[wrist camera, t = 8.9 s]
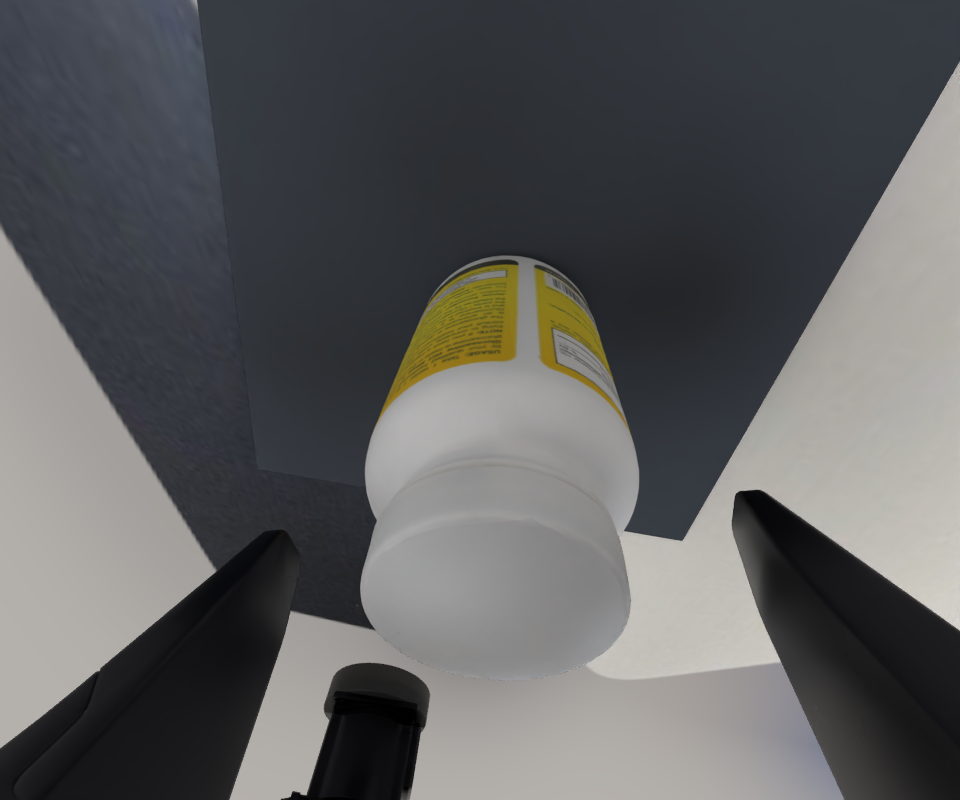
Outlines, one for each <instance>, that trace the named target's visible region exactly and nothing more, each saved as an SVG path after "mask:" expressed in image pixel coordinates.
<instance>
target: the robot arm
mask: <svg viewBox="0 0 960 800" xmlns="http://www.w3.org/2000/svg"><path fill="white" fill-rule="evenodd" d="M732 530H733V535H734V538H735V541H736V544H737V547H738V550H739V553H740V556H741V559H742V562H743V565H744V568H745V572H746V575H747V578H748V581H749V584H750V587H751V590H752V593H753V596H754V599H755V602H756V605H757V608H758V610H759V613H760V616H761V618H762V621H763V623H764V625H765V628H766V630H767V632H768V634H769V636H770V639H771V641H772V643H773V645H774V647H775V649H776V652H777V654H778V656H779V658H780V660H781V663H782V665H783V667H784V669H785V671H786V673H787V676H788V678H789V680H790V682H791V684H792V686H793V689H794V691H795V693H796V695H797V697H798V699H799V702H800V704H801V706H802V708H803V710H804V713H805V715H806V717H807V719H808V721H809V724H810V726H811V728H812V730H813V732H814V734H815V736H816V739H817V741H818V743H819V745H820V747H821V749H822V752H823V754H824V756H825V758H826V760H827V763H828V765H829V767H830V769H831V771H832V774H833V776H834V778H835V780H836V782H837V784H838V787H839V789H840V791H841V793H842V795H843V797H844V800H960V631H959V630H958V629H957V628H955V627H954V626H952V625H951V624H950V623H948V622H947V621H945V620H944V619H943V618H941V617H940V616H938V615H937V614H936V613H934V612H933V611H931V610H930V609H929V608H927V607H926V606H924V605H923V604H922V603H920V602H919V601H917V600H916V599H914V598H913V597H912V596H910V595H909V594H907V593H906V592H905V591H903V590H902V589H900V588H899V587H898V586H896V585H895V584H893V583H892V582H891V581H889V580H888V579H886V578H885V577H884V576H882V575H881V574H879V573H878V572H877V571H875V570H874V569H872V568H871V567H869V566H868V565H867V564H865V563H864V562H862V561H861V560H860V559H858V558H857V557H855V556H854V555H853V554H851V553H850V552H848V551H847V550H846V549H844V548H843V547H841V546H840V545H839V544H837V543H836V542H834V541H833V540H832V539H830V538H829V537H827V536H826V535H824V534H823V533H822V532H820V531H819V530H817V529H816V528H815V527H813V526H812V525H810V524H809V523H808V522H806V521H805V520H803V519H802V518H801V517H799V516H798V515H796V514H795V513H794V512H792V511H791V510H789V509H788V508H787V507H785V506H784V505H782V504H781V503H779V502H778V501H777V500H775V499H774V498H772V497H771V496H770V495H768V494H767V493H765V492H764V491H761V490H749V491H740V492H738V493H736V495H735V500H734V509H733V517H732ZM300 567H301V557H300V554H299V552H298V550H297V548H296V547H295V545H294V543H293V541H292V540H291V538H290V536H289V535H288V533H287V532H286V531H284V530H271V531H265V532H263V533H262V534H261V535H260V536H258V537H257V538H256V539H255V540H254V541H252V542H251V543H250V544H249V545H248V546H246V547H245V548H244V549H243V550H242V551H240V552H239V553H238V554H237V555H236V556H234V557H233V558H232V559H231V560H230V561H228V562H227V563H226V564H225V565H224V566H222V567H221V568H220V569H219V570H218V571H216V572H215V573H214V574H213V575H212V576H210V577H209V578H208V579H207V580H206V581H205V582H203V583H202V584H201V585H200V586H199V587H197V588H196V589H195V590H194V591H193V592H191V593H190V594H189V595H188V596H187V597H185V598H184V599H183V600H182V601H181V602H179V603H178V604H177V605H176V606H175V607H173V608H172V609H171V610H170V611H169V612H167V613H166V614H165V615H164V616H163V617H161V618H160V619H159V620H158V621H157V622H155V623H154V624H153V625H152V626H151V627H149V628H148V629H147V630H146V631H145V632H143V633H142V634H141V635H140V636H139V637H137V638H136V639H135V640H134V641H133V642H132V643H130V644H129V645H128V646H127V647H125V648H124V649H123V650H122V651H121V652H119V653H118V654H117V655H116V656H115V657H113V658H112V659H111V660H110V661H109V662H108V663H106V664H105V665H104V666H103V667H102V668H101V669H100V671H97V672H95V673H94V674H93V675H92V676H91V677H89V678H88V679H87V680H86V681H85V682H83V683H82V684H81V685H80V686H79V687H77V688H76V689H75V690H74V691H73V692H71V693H70V694H69V695H68V696H66V697H65V698H64V699H63V700H62V701H60V702H59V703H58V704H57V705H55V706H54V707H53V708H52V709H50V710H49V711H48V712H47V713H46V714H44V715H43V716H42V717H41V718H40V719H38V720H37V721H35V722H34V723H33V724H31V725H30V726H29V727H28V728H26V729H25V730H24V731H22V732H21V733H20V734H19V735H17V736H16V737H15V738H13V739H12V740H11V741H9V742H8V743H7V744H6V745H4V746H3V747H2V748H0V800H229V799H230V796H231V793H232V790H233V787H234V784H235V781H236V778H237V775H238V772H239V769H240V766H241V763H242V760H243V757H244V754H245V751H246V748H247V746H248V743H249V739H250V737H251V734H252V731H253V728H254V725H255V722H256V719H257V716H258V713H259V710H260V707H261V704H262V701H263V698H264V695H265V692H266V689H267V686H268V683H269V680H270V677H271V674H272V671H273V668H274V665H275V663H276V660H277V657H278V653H279V651H280V648H281V645H282V641H283V638H284V635H285V631H286V627H287V623H288V619H289V615H290V610H291V606H292V602H293V598H294V593H295V589H296V585H297V580H298V576H299V572H300ZM331 705H332V714H331V717H330V720H329V724H328V727H327V730H326V733H325V736H324V740H323V743H322V746H321V749H320V753H319V756H318V759H317V762H316V766H315V769H314V773H313V776H312V779H311V782H310V785H309V789H308V792H307V795H301V794H300V793H299V792H294V791H293V792H292V795H291V797H289V798H285V799H281V800H409V799H410V795H411V790H412V784H413V778H414V771H415V765H416V759H417V753H418V746H419V740H420V733H421V728H422V726H421V725H420V723H416V720H417V714H418V709H419V706H418V705H417V704H416V703H412V702H406V701H399V700H393V699H387V698H380V697H374V696H368V695H362V694H355V693H349V692H343V691H335V692H333V695H332V698H331Z"/></svg>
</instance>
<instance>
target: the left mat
mask: <svg viewBox="0 0 960 800" xmlns="http://www.w3.org/2000/svg"><path fill="white" fill-rule="evenodd" d="M197 3H198V11H199V18H200V26H201V34H202V42H203V50H204V57H205V65H206V73H207V81H208V88H209V96H210V104H211V112H212V120H213V127H214V135H215V143H216V151H217V158H218V166H219V174H220V182H221V189H222V197H223V205H224V213H225V221H226V228H227V236H228V244H229V252H230V259H231V267H232V275H233V283H234V290H235V298H236V306H237V314H238V322H239V329H240V337H241V345H242V353H243V360H244V368H245V376H246V384H247V391H248V399H249V407H250V415H251V423H252V430H253V438H254V446H255V454H256V461H257V469H259V470H265V471H271V472H277V473H283V474H289V475H295V476H301V477H307V478H312V479H318V480H324V481H330V482H336V483H342V484H348V485H354V486H360V487H366V482H365V464H366V457H367V452H368V448H369V444H370V440H371V436H372V434H373V431H374V428H375V426H376V423H377V421H378V419H379V416H380V414H381V411H382V409H383V406H384V404H385V402H386V399H387V397H388V394H389V392H390V389H391V387H392V384H393V382H394V380H395V377H396V375H397V373H398V370H399V368H400V365H401V363H402V361H403V359H404V356H405V354H406V352H407V349H408V347H409V345H410V343H411V340H412V338H413V336H414V333H415V331H416V329H417V326H418V324H419V322H420V319H421V317H422V314H423V312H424V310H425V308H426V306H427V304H428V302H429V300H430V299H431V297H432V295H433V294H434V292H435V291H436V290H437V289H438V287H439V286H440V285H441V284H442V283H443V282H444V281H445V280H446V279H447V278H448V277H449V276H450V275H452V274H453V273H454V272H456V271H457V270H459V269H460V268H462V267H464V266H466V265H468V264H470V263H472V262H475V261H477V260H480V259H484V258H488V257H493V256H521V257H526V258H531V259H534V260H538V261H540V262H543V263H545V264H547V265H549V266H551V267H553V268H555V269H556V270H558V271H559V272H561V273H562V274H563V275H565V276H566V277H567V278H568V279H569V280H570V281H571V282H572V283H573V284H574V285H575V286H576V287H577V288H578V289H579V291H580V292H581V294H582V295H583V297H584V298H585V300H586V302H587V304H588V306H589V309H590V311H591V314H592V316H593V318H594V321H595V324H596V327H597V331H598V333H599V336H600V341H601V344H602V347H603V350H604V353H605V356H606V359H607V362H608V365H609V369H610V372H611V375H612V377H613V381H614V384H615V388H616V391H617V394H618V397H619V400H620V403H621V406H622V409H623V412H624V415H625V418H626V421H627V424H628V427H629V430H630V433H631V436H632V439H633V443H634V447H635V451H636V456H637V462H638V467H639V491H638V496H637V501H636V505H635V508H634V512H633V514H632V516H631V518H630V521H629V523H628V524H627V526H626V528H625V530H624V531H627V532H633V533H639V534H645V535H651V536H657V537H663V538H668V539H674V540H680V541H682V540H683V539H684V537H685V536H686V534H687V532H688V530H689V529H690V527H691V525H692V524H693V522H694V520H695V518H696V517H697V515H698V513H699V511H700V510H701V508H702V506H703V504H704V503H705V501H706V499H707V498H708V496H709V494H710V492H711V491H712V489H713V487H714V485H715V484H716V482H717V480H718V479H719V477H720V475H721V473H722V472H723V470H724V468H725V466H726V465H727V463H728V461H729V459H730V458H731V456H732V454H733V453H734V451H735V449H736V447H737V446H738V444H739V442H740V440H741V439H742V437H743V435H744V434H745V432H746V430H747V428H748V427H749V425H750V423H751V421H752V420H753V418H754V416H755V415H756V413H757V411H758V409H759V408H760V406H761V404H762V402H763V401H764V399H765V397H766V395H767V394H768V392H769V390H770V389H771V387H772V385H773V383H774V382H775V380H776V378H777V376H778V375H779V373H780V371H781V370H782V368H783V366H784V364H785V363H786V361H787V359H788V357H789V356H790V354H791V352H792V351H793V349H794V347H795V345H796V344H797V342H798V340H799V338H800V337H801V335H802V333H803V331H804V330H805V328H806V326H807V325H808V323H809V321H810V319H811V318H812V316H813V314H814V312H815V311H816V309H817V307H818V306H819V304H820V302H821V300H822V299H823V297H824V295H825V293H826V292H827V290H828V288H829V287H830V285H831V283H832V281H833V280H834V278H835V276H836V274H837V273H838V271H839V269H840V267H841V266H842V264H843V262H844V261H845V259H846V257H847V255H848V254H849V252H850V250H851V248H852V247H853V245H854V243H855V242H856V240H857V238H858V236H859V235H860V233H861V231H862V229H863V228H864V226H865V224H866V223H867V221H868V219H869V217H870V216H871V214H872V212H873V210H874V209H875V207H876V205H877V203H878V202H879V200H880V198H881V197H882V195H883V193H884V191H885V190H886V188H887V186H888V184H889V183H890V181H891V179H892V178H893V176H894V174H895V172H896V171H897V169H898V167H899V165H900V164H901V162H902V160H903V158H904V157H905V155H906V153H907V152H908V150H909V148H910V146H911V145H912V143H913V141H914V139H915V138H916V136H917V134H918V133H919V131H920V129H921V127H922V126H923V124H924V122H925V120H926V119H927V117H928V115H929V114H930V112H931V110H932V108H933V107H934V105H935V103H936V101H937V100H938V98H939V96H940V94H941V93H942V91H943V89H944V88H945V86H946V84H947V82H948V81H949V79H950V77H951V75H952V74H953V72H954V70H955V69H956V67H957V65H958V63H959V62H960V0H197Z"/></svg>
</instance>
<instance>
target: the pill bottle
mask: <svg viewBox="0 0 960 800" xmlns="http://www.w3.org/2000/svg"><path fill="white" fill-rule="evenodd" d="M365 482H366V490H367V495H368V499H369V502H370V506H371V509H372V511H373V514H374V516H375V518H376V520H377V523H376V525H375V528H374V531H373V534H372V540H371V544H370V547H369V551H368V554H367V558H366V561H365V564H364V568H363V572H362V577H361V586H360V592H361V600H362V605H363V608H364V611H365V613H366V615H367V617H368V619H369V621H370V622H371V624H372V626H373V627H374V628H375V630H376V631H377V632H378V634H380V636H381V637H383V639H385V640H386V641H387V642H388V643H389V644H391V645H392V646H393V647H394V648H396V649H397V650H399V651H400V652H401V653H403V654H405V655H407V656H408V657H410V658H412V659H414V660H416V661H418V662H421V663H423V664H425V665H428V666H430V667H433V668H436V669H439V670H442V671H445V672H449V673H452V674H457V675H462V676H467V677H472V678H479V679H488V680H526V679H537V678H544V677H548V676H553V675H557V674H561V673H564V672H568V671H570V670H573V669H576V668H578V667H581V666H583V665H585V664H587V663H588V662H590V661H592V660H593V659H595V658H597V657H598V656H600V655H601V654H603V653H604V652H605V651H606V650H607V649H609V648H610V647H611V646H612V645H613V643H614V642H615V641H616V640H617V639H618V637H619V636H620V634H621V633H622V632H623V630H624V628H625V626H626V624H627V620H628V617H629V612H630V602H631V600H630V589H629V583H628V577H627V572H626V566H625V561H624V556H623V552H622V548H621V543H620V539H619V537H620V536H621V534H622V533H623V531H624V530H625V528H626V526H627V524H628V523H629V521H630V518H631V516H632V514H633V512H634V508H635V505H636V501H637V496H638V491H639V467H638V462H637V456H636V451H635V447H634V443H633V439H632V436H631V433H630V430H629V427H628V424H627V421H626V418H625V415H624V412H623V409H622V406H621V403H620V400H619V397H618V394H617V391H616V388H615V384H614V381H613V377H612V375H611V372H610V369H609V365H608V362H607V359H606V356H605V353H604V350H603V347H602V344H601V341H600V336H599V333H598V331H597V327H596V324H595V321H594V318H593V316H592V314H591V311H590V309H589V306H588V304H587V302H586V300H585V298H584V297H583V295H582V294H581V292H580V291H579V289H578V288H577V287H576V286H575V285H574V284H573V283H572V282H571V281H570V280H569V279H568V278H567V277H566V276H565V275H563V274H562V273H561V272H559V271H558V270H556V269H555V268H553V267H551V266H549V265H547V264H545V263H543V262H540V261H538V260H534V259H531V258H526V257H521V256H493V257H488V258H484V259H480V260H477V261H475V262H472V263H470V264H468V265H466V266H464V267H462V268H460V269H459V270H457V271H456V272H454V273H453V274H452V275H450V276H449V277H448V278H447V279H446V280H445V281H444V282H443V283H442V284H441V285H440V286H439V287H438V289H437V290H436V291H435V292H434V294H433V295H432V297H431V299H430V300H429V302H428V304H427V306H426V308H425V310H424V312H423V314H422V317H421V319H420V322H419V324H418V326H417V329H416V331H415V333H414V336H413V338H412V340H411V343H410V345H409V347H408V349H407V352H406V354H405V356H404V359H403V361H402V363H401V365H400V368H399V370H398V373H397V375H396V377H395V380H394V382H393V384H392V387H391V389H390V392H389V394H388V397H387V399H386V402H385V404H384V406H383V409H382V411H381V414H380V416H379V419H378V421H377V423H376V426H375V428H374V431H373V434H372V436H371V440H370V444H369V448H368V452H367V457H366V464H365Z"/></svg>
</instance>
